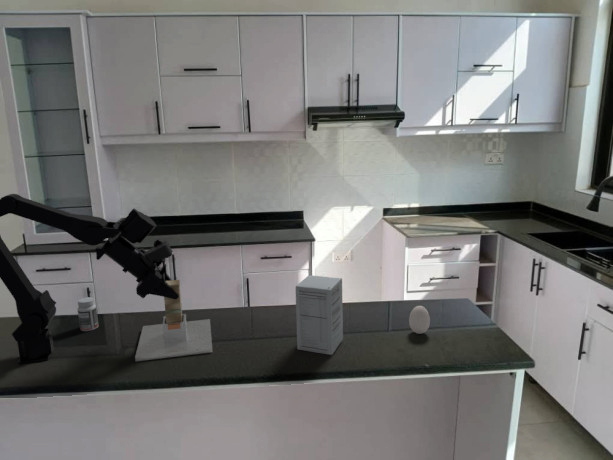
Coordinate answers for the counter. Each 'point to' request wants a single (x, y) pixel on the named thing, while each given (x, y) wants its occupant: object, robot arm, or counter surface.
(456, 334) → the counter surface
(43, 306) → the robot arm
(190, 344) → the stand
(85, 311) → the pill bottle
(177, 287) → the post
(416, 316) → the egg
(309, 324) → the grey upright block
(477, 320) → the counter surface
